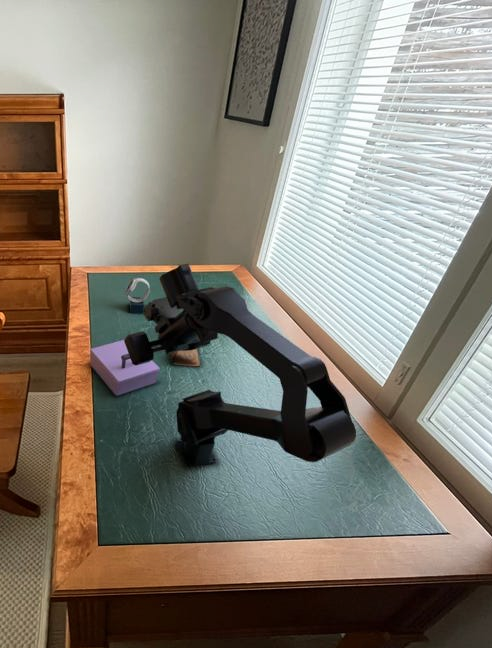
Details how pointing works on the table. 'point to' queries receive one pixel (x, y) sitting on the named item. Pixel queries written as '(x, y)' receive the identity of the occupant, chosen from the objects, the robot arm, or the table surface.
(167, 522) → the table surface
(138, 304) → the watch
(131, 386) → the box
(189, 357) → the sunglasses case
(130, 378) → the purple square slab
